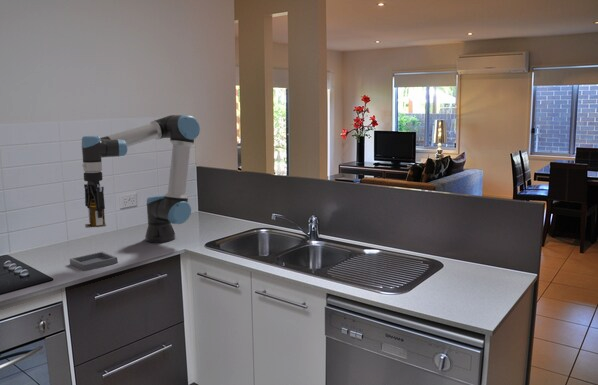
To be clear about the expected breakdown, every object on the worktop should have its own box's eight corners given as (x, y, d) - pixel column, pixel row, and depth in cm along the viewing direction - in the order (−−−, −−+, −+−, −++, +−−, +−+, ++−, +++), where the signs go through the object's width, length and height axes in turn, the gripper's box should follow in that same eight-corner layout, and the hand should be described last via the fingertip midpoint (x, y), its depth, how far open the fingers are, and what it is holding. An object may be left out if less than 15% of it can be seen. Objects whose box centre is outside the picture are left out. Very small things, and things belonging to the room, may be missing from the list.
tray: (102, 256, 235) (102, 251, 235) (117, 262, 226) (117, 257, 225) (70, 264, 224) (69, 258, 224) (84, 270, 215) (83, 265, 215)
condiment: (106, 226, 223) (104, 199, 221) (85, 228, 220) (83, 200, 218) (105, 223, 230) (103, 197, 228) (84, 224, 226) (83, 198, 224)
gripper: (74, 170, 224) (78, 222, 228) (94, 174, 211) (97, 228, 215) (91, 169, 230) (94, 219, 233) (111, 172, 217) (114, 225, 220)
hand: (95, 223), depth 224 cm, fingers closed on condiment, 6 cm apart
